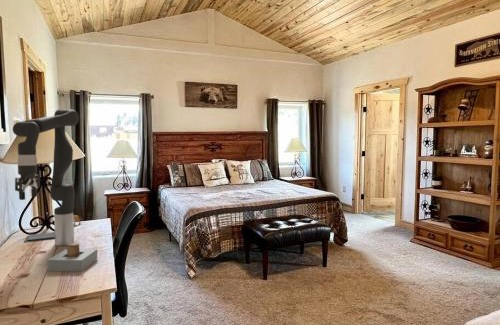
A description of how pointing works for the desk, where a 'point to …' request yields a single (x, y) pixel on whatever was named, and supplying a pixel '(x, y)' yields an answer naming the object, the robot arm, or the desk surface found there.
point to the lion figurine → (76, 219)
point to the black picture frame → (40, 237)
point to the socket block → (72, 260)
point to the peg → (73, 250)
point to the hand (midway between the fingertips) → (28, 198)
